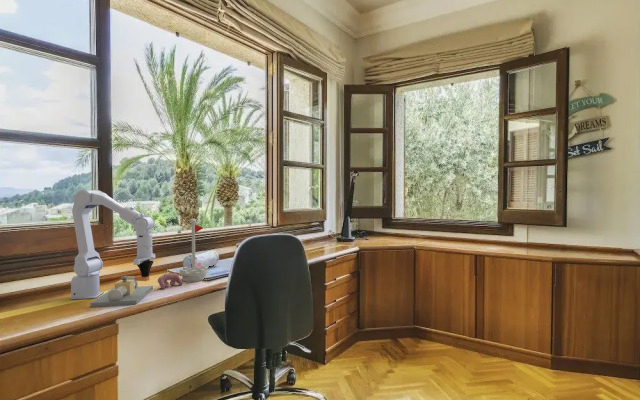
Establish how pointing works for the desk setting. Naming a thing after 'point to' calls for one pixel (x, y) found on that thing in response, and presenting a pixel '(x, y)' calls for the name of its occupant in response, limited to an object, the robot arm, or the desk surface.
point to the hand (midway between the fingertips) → (145, 278)
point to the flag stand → (194, 272)
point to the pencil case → (202, 259)
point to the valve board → (122, 294)
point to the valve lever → (135, 278)
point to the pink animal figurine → (171, 276)
